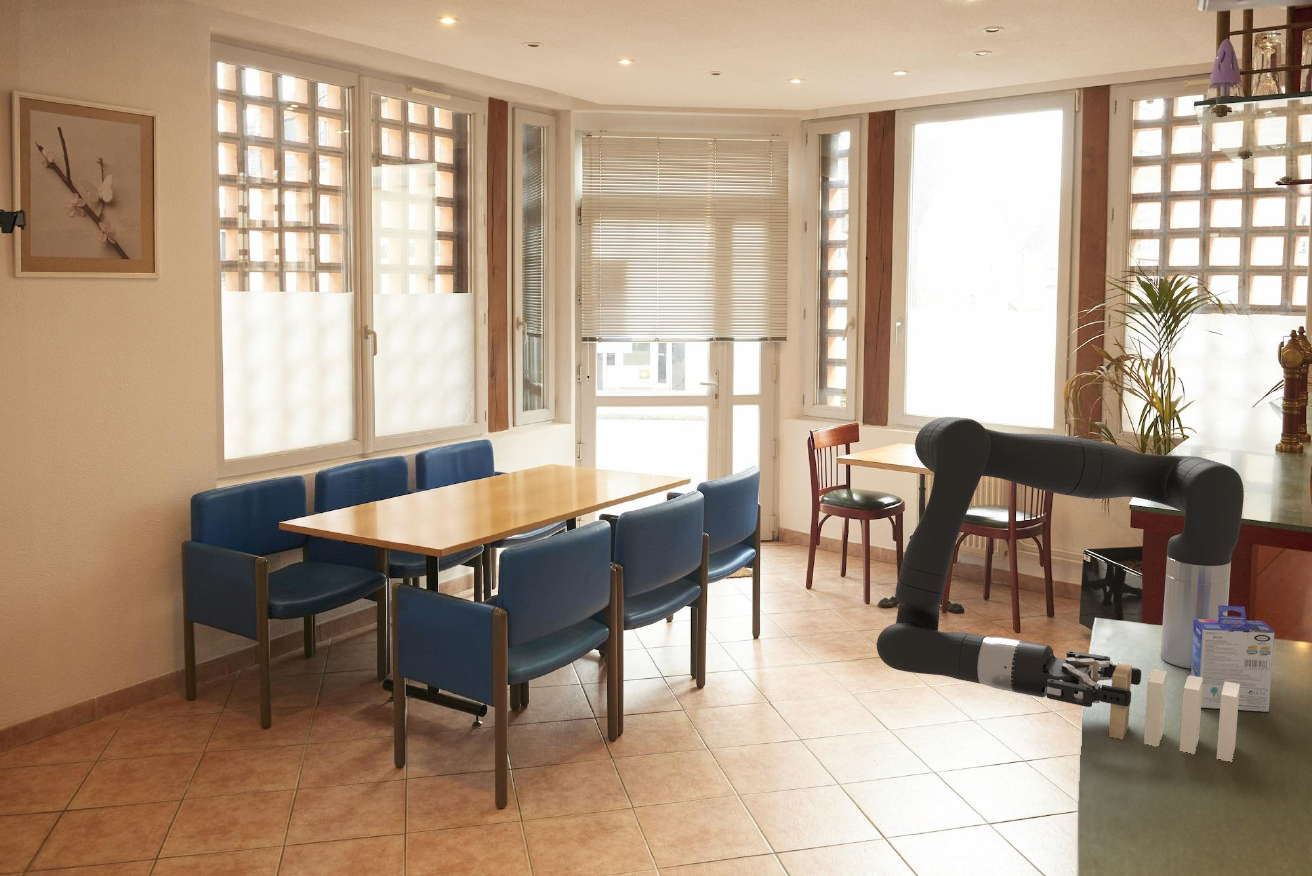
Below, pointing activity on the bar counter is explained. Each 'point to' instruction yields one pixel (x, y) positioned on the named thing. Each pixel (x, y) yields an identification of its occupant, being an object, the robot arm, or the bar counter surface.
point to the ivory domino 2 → (1191, 714)
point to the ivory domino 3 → (1228, 721)
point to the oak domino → (1118, 712)
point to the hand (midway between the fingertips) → (1135, 687)
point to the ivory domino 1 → (1155, 707)
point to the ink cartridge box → (1233, 658)
